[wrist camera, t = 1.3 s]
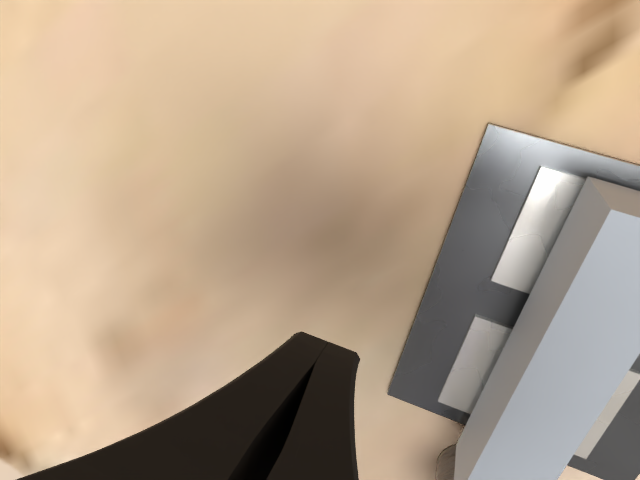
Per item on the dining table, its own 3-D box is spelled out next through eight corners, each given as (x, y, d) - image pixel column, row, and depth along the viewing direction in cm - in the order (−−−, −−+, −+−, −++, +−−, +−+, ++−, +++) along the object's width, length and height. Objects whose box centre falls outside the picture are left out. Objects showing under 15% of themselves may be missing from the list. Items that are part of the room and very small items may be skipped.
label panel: (625, 482, 20) (629, 493, 19) (388, 390, 22) (386, 397, 21) (825, 216, 14) (836, 222, 14) (488, 122, 16) (488, 125, 16)
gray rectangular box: (514, 467, 20) (518, 538, 17) (456, 444, 20) (451, 509, 18) (670, 199, 15) (714, 240, 12) (587, 176, 15) (611, 209, 12)
